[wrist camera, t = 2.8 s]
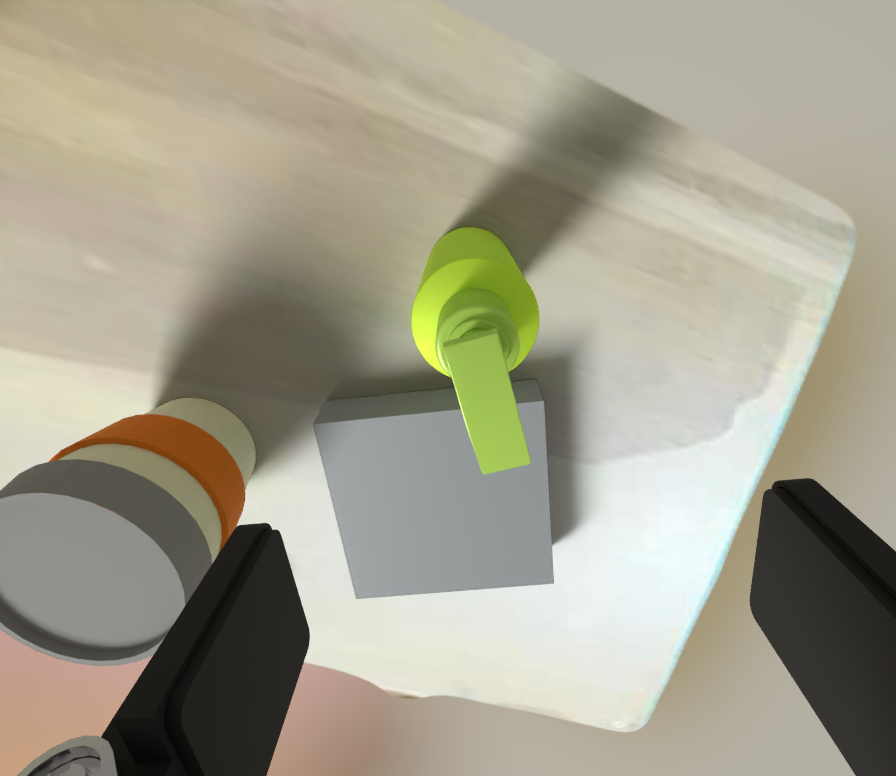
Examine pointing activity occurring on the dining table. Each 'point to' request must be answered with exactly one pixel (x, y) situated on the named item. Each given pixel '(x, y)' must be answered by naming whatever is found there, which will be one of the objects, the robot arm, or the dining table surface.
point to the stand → (434, 495)
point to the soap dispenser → (478, 337)
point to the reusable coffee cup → (121, 531)
